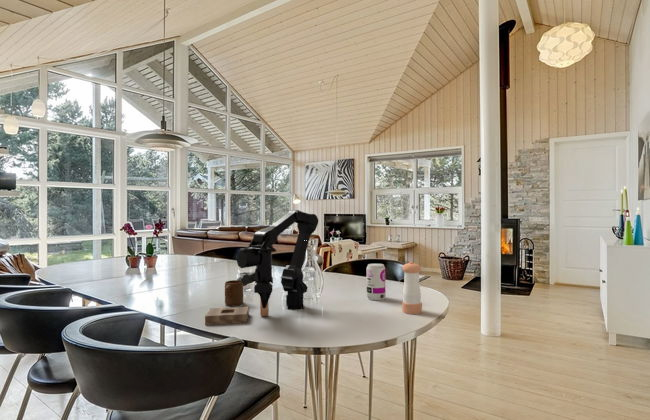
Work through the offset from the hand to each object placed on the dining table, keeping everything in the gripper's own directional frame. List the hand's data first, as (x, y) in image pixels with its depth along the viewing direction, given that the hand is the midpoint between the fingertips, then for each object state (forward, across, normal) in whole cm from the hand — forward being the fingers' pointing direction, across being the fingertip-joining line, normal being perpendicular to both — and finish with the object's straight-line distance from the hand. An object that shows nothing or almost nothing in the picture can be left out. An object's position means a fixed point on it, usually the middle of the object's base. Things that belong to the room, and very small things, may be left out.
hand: (264, 306), depth 133 cm
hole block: (+4, +2, -13) cm, 14 cm away
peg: (+3, 0, 0) cm, 3 cm away
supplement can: (+4, -19, +48) cm, 52 cm away
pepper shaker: (+4, +3, +56) cm, 56 cm away
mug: (+4, -18, -14) cm, 23 cm away
